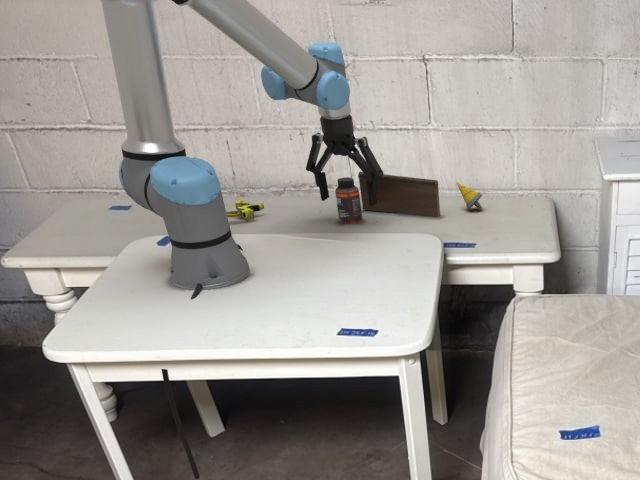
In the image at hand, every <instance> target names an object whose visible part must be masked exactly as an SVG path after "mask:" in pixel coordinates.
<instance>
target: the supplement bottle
mask: <svg viewBox="0 0 640 480" xmlns="http://www.w3.org/2000/svg"><path fill="white" fill-rule="evenodd" d="M337 185H338V186H337V187H336V188H335V190H334V194H335V201H336V209H337V214H338V215H337V216H338V221H339V223H340V224H342V225H349V226H350V225H358V224H361V223H362V222H363V211H362V205H361V204H362V202H361V195H360V190H359V188H358V186H356V185H355V181H354V178H353V177H350V176H349V177H339V178H338V179H337Z"/></svg>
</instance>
